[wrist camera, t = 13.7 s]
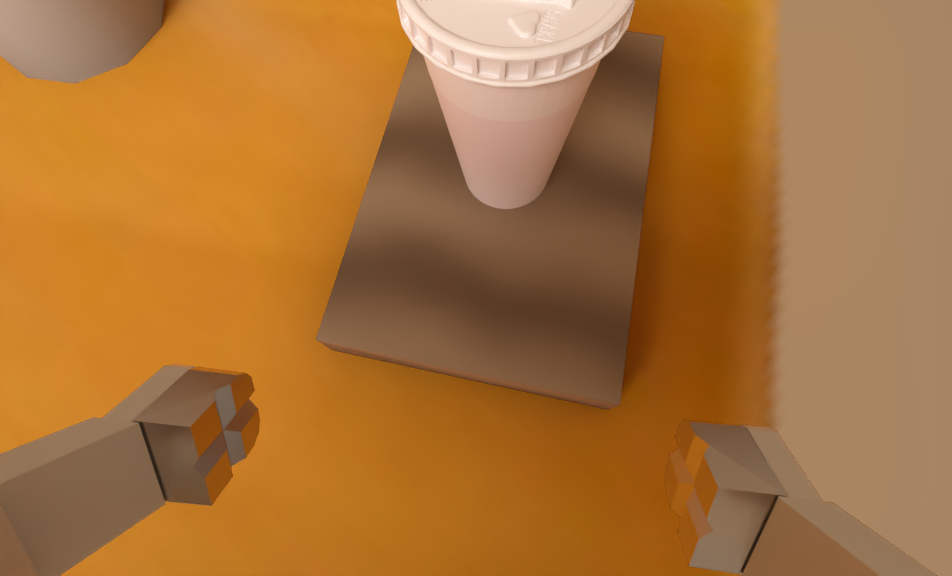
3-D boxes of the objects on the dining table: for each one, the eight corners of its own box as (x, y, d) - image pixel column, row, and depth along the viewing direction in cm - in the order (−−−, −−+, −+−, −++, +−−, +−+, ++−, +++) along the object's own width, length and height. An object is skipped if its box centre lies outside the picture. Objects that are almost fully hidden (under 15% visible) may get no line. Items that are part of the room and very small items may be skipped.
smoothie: (496, 89, 23) (499, -416, 10) (608, 162, 21) (797, -319, 8) (404, 181, 21) (258, -266, 8) (518, 266, 20) (568, -113, 7)
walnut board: (607, 409, 20) (620, 404, 18) (331, 350, 21) (315, 339, 19) (651, 67, 25) (664, 36, 23) (431, 36, 27) (427, 4, 25)
